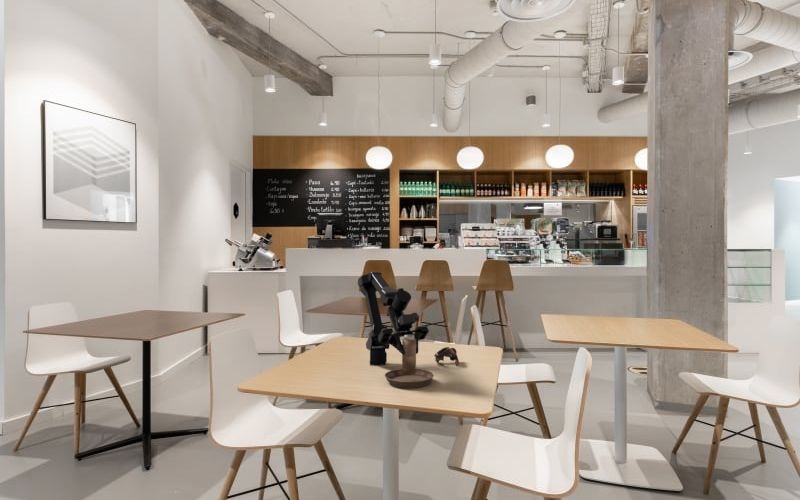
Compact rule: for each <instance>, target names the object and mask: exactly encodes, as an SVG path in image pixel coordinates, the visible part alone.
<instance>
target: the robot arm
mask: <svg viewBox="0 0 800 500" xmlns="http://www.w3.org/2000/svg"><path fill="white" fill-rule="evenodd" d="M357 286H358V287H359V291H360V293H361V294H362V295H363V296H364V298H365V303H366V307H367V312H368V319H369V323H370V330H369V333H368V338H367V340H366V343H365V349H367V350H368V351H369V366H386V363H387V357H388V356H387V351H386V350H389V349H390V345H391V347H394V348H395V350H397V352H399V353H401V355H402V354H403V355H404V354H405V351H404V348H403V346H402V340H401V338H403V337H404V335H406V334H412V335H414V339H416V355H417V354H418V353H419V341H422V340H425V338H426V337H427V335H428V334H429V332H430V330H429V327H428V326H427V325H418V326H416V328H415V329H412V328H413V324H416V323H417V322H418V321H419V320H420V319H419V315H418V312H412V313H409V314H405V312H404V311H405V310H406V309H407V308H408V306H409V303H410V302H411V299H412V295H411V294H410V293H409V292H408V290H407V291H406V290H404V288H402V287H401V288H399V287H398V288H397V289H395V288H394V287H390V285H389V284H388V282H387V281H386V280H385V278H384V277H383V276H382V273H381V272H379V271H370V272H368V273H367V274H366V273H365V274H363V275H360V277H359V278H358V279H357ZM377 292H378V294H379V300H378V298H377ZM378 301H380V303H381V305H382V306H383V307H388V308H387V310H386V311H387V312H386V316H387V317H389V319H390V323H391V325H390V327H389V328H388V326H386V325H384V324H383V321H382V317H381V311H380V306H379V302H378ZM411 329H412V330H411Z"/></svg>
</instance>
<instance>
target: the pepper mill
mask: <svg viewBox="0 0 800 500" xmlns="http://www.w3.org/2000/svg"><path fill="white" fill-rule="evenodd" d="M401 343H402V346H403V348H404V351H405V354H404V355H403V354H401V357H402V358H401V359H402V360H401V369H402V373H403V374H415V373H416V369H417V354H416V339H414V335H412V334H406V335H404V338H402V340H401Z"/></svg>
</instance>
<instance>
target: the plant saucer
mask: <svg viewBox="0 0 800 500" xmlns="http://www.w3.org/2000/svg"><path fill="white" fill-rule="evenodd" d="M384 377H385V379H386V381H388V383H389V384H390V385H392V386H394V387H396V388H397V387H398V388H405V389H407V388H408V389H411V388H412V389H413V388H414V389H415V388H420V387H424V386H425V387H426V385H428V384H429V383H430V382H431V381H432V380H433V379H434V373H433V372H431V371H429V370H427V369H422V368H416V373H415V374H403V373H402V368H397V369H392V370H389V371H387V372H385V374H384Z"/></svg>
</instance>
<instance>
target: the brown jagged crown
mask: <svg viewBox="0 0 800 500" xmlns="http://www.w3.org/2000/svg"><path fill="white" fill-rule="evenodd" d="M457 352H458V351H457V350H456V348H455V347H451V348H450V346H445V347H443V348H441V349H440V350H438V351H437V352H436V353H435V354H434V357H435V359H434V360H435V362H436V363H437V364H439V362H440V361H443V362H444V361H445V360H444V359H445V358H449V359H450V361H452V362H453V361H454V363H455V366H456V367H458V366H459V365H460V361H459V357H458V355H457Z"/></svg>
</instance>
